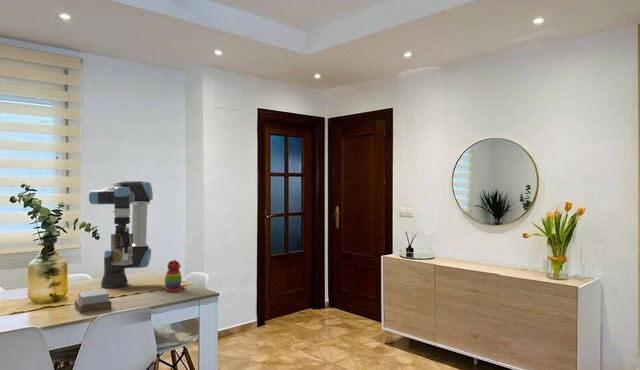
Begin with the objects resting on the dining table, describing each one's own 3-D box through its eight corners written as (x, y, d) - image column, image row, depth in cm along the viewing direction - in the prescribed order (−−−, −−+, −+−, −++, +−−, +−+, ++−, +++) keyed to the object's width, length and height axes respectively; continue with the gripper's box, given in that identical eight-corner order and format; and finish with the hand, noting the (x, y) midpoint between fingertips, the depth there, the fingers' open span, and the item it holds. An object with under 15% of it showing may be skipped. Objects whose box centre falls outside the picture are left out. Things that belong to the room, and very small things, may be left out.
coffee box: (133, 263, 237) (133, 233, 237) (124, 265, 231) (124, 234, 231) (119, 262, 240) (119, 232, 239) (110, 264, 233) (110, 234, 233)
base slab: (74, 307, 228) (74, 300, 228) (104, 303, 237) (104, 295, 237) (80, 314, 217) (80, 306, 217) (111, 309, 226) (111, 301, 226)
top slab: (78, 300, 229) (78, 292, 229) (104, 296, 236) (104, 288, 236) (81, 305, 219) (81, 297, 219) (108, 301, 226) (108, 293, 226)
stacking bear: (176, 293, 258) (177, 262, 258) (160, 292, 260) (161, 261, 260) (186, 288, 268) (186, 259, 268) (170, 287, 270) (170, 258, 270)
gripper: (108, 215, 241) (107, 256, 241) (121, 218, 224) (121, 262, 224) (122, 214, 246) (122, 254, 246) (137, 217, 229) (136, 260, 229)
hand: (121, 258), depth 235 cm, fingers closed on coffee box, 11 cm apart
